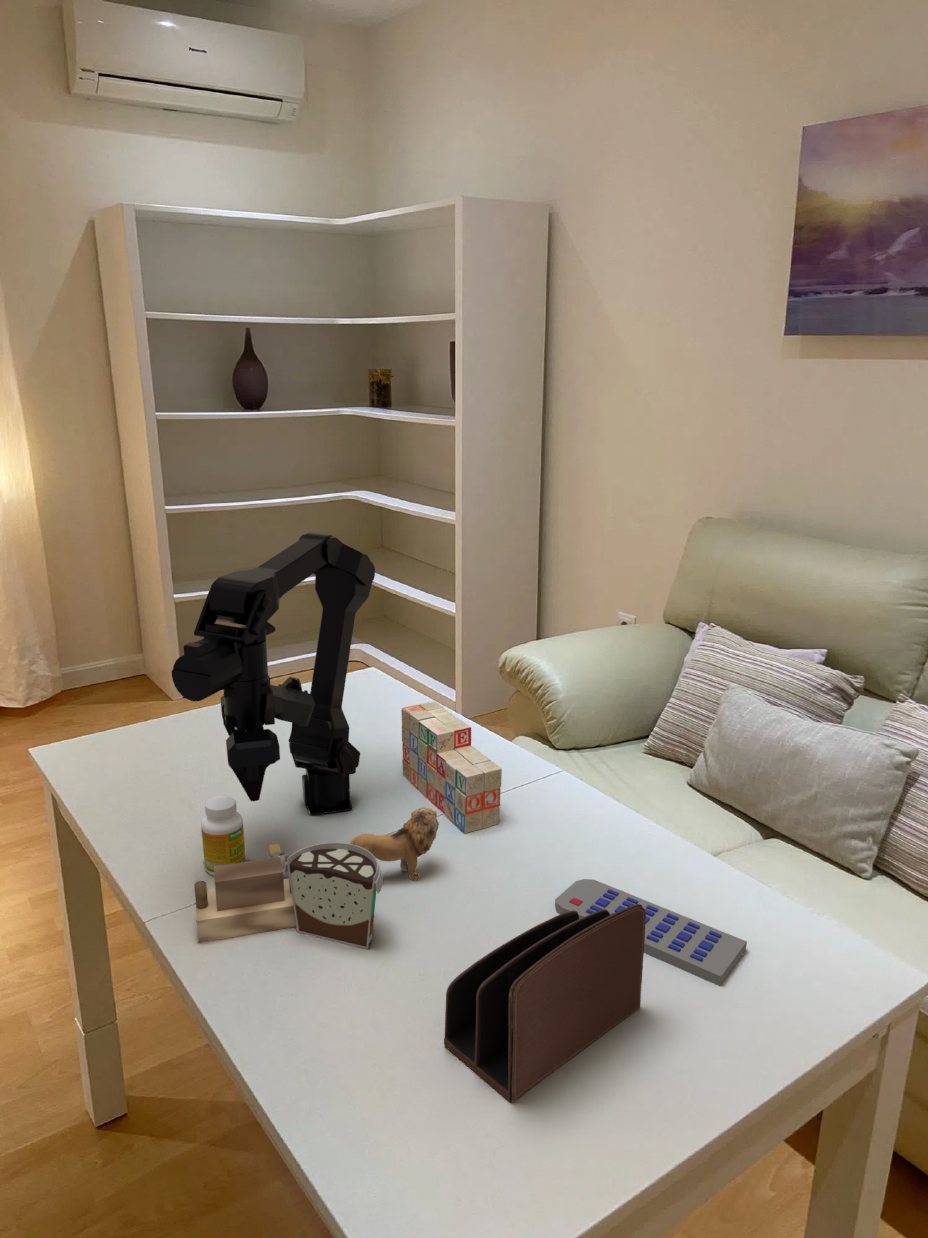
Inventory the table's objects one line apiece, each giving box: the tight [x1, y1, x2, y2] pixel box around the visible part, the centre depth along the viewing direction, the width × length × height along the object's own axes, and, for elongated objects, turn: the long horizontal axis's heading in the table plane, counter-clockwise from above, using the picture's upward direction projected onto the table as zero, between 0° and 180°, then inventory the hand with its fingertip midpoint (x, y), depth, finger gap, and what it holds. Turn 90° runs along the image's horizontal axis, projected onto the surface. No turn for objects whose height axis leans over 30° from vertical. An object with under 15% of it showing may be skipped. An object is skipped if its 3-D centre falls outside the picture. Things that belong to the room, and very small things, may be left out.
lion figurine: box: [348, 806, 440, 882], centre depth 121 cm, size 15×5×9 cm, turn 115°
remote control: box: [554, 878, 748, 987], centre depth 112 cm, size 8×23×2 cm, turn 52°
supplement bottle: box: [201, 795, 246, 876], centre depth 123 cm, size 5×5×10 cm
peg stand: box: [193, 878, 297, 944], centre depth 112 cm, size 13×6×6 cm, turn 107°
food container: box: [284, 842, 384, 950], centre depth 111 cm, size 12×6×10 cm, turn 71°
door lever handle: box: [267, 843, 290, 879], centre depth 122 cm, size 5×8×4 cm, turn 17°
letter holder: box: [443, 904, 646, 1103], centre depth 94 cm, size 10×20×14 cm, turn 132°
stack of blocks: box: [401, 700, 503, 834], centre depth 142 cm, size 21×6×12 cm, turn 29°
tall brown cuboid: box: [214, 857, 285, 911], centre depth 112 cm, size 4×8×4 cm, turn 107°
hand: (252, 784), depth 121 cm, fingers open, 9 cm apart
